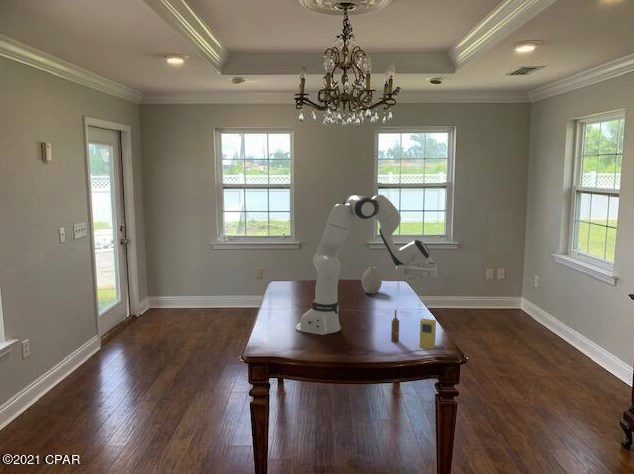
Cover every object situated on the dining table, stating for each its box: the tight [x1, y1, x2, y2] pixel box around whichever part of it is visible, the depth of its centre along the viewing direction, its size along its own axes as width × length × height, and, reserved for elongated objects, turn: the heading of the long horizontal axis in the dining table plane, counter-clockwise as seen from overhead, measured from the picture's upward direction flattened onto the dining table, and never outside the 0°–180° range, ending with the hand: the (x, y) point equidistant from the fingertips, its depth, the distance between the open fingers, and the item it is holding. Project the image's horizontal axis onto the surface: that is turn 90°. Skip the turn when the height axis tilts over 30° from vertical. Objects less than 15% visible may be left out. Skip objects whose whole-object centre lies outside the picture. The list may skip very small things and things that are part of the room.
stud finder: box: [419, 318, 437, 350], centre depth 213 cm, size 4×6×12 cm
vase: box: [361, 266, 383, 295], centre depth 309 cm, size 13×13×17 cm
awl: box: [390, 309, 400, 343], centre depth 220 cm, size 3×3×15 cm
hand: (412, 274), depth 230 cm, fingers open, 8 cm apart
